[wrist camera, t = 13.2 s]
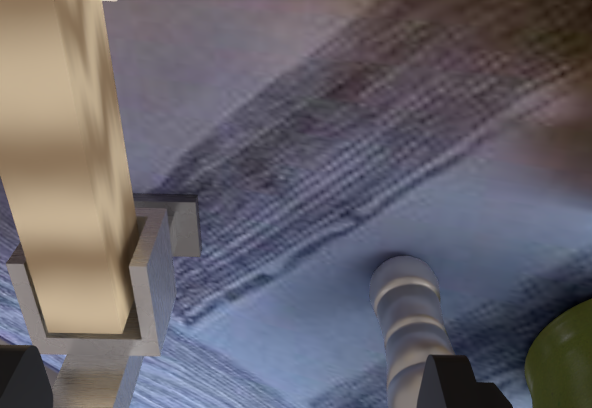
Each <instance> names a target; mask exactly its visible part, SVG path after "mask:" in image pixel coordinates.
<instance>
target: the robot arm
mask: <svg viewBox="0 0 592 408" xmlns="http://www.w3.org/2000/svg"><path fill="white" fill-rule="evenodd" d="M0 408H53V392H52V389H51V386H50V383H49V380H48V377H47V374H46V371H45V367H44V364H43V361H42V358H41V355H40V352H39V350H38V348H37V347H36V346H34V345H0ZM417 408H513V407H512V404H511V403H510V402H509V401H508V400H507V398H506V397H505V396H504V395H503V394H502V392H501V391H500V390H499V389H498V388H497V386H496V385H495V384H494V383H484V382H476V380H475V377H474V373H473V370H472V367H471V364H470V362H469V359H468V358H467V356H465V355H434V354H430V355H428V357H427V359H426V364H425V368H424V372H423V377H422V381H421V386H420V390H419V395H418V399H417Z"/></svg>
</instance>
